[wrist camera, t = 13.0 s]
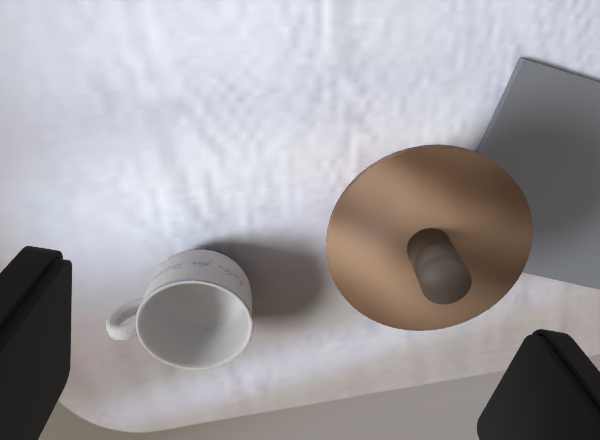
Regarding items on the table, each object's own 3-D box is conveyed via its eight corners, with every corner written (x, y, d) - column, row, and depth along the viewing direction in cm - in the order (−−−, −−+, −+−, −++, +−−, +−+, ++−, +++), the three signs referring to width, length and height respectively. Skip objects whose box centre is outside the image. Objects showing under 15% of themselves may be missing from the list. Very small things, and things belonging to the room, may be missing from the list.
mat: (519, 57, 42) (524, 58, 41) (705, 115, 45) (712, 117, 44) (432, 248, 50) (435, 252, 49) (594, 285, 54) (599, 289, 53)
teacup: (258, 239, 49) (255, 283, 42) (253, 323, 53) (250, 376, 46) (118, 232, 47) (91, 276, 40) (126, 319, 52) (103, 372, 45)
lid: (362, 119, 32) (372, 143, 27) (564, 175, 34) (613, 208, 28) (303, 299, 38) (302, 347, 33) (477, 340, 40) (504, 394, 34)
